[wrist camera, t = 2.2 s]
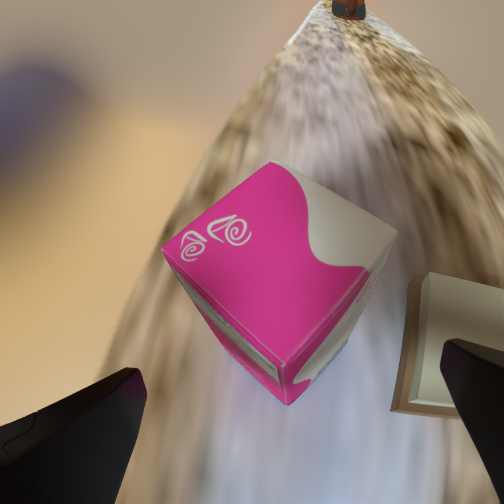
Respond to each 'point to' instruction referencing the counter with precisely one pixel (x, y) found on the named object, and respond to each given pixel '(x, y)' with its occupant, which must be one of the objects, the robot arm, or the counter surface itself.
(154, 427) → the counter surface
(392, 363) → the counter surface
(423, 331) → the pedestal
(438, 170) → the counter surface
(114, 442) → the robot arm
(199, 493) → the counter surface
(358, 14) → the banded dark cylinder
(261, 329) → the supplement box
